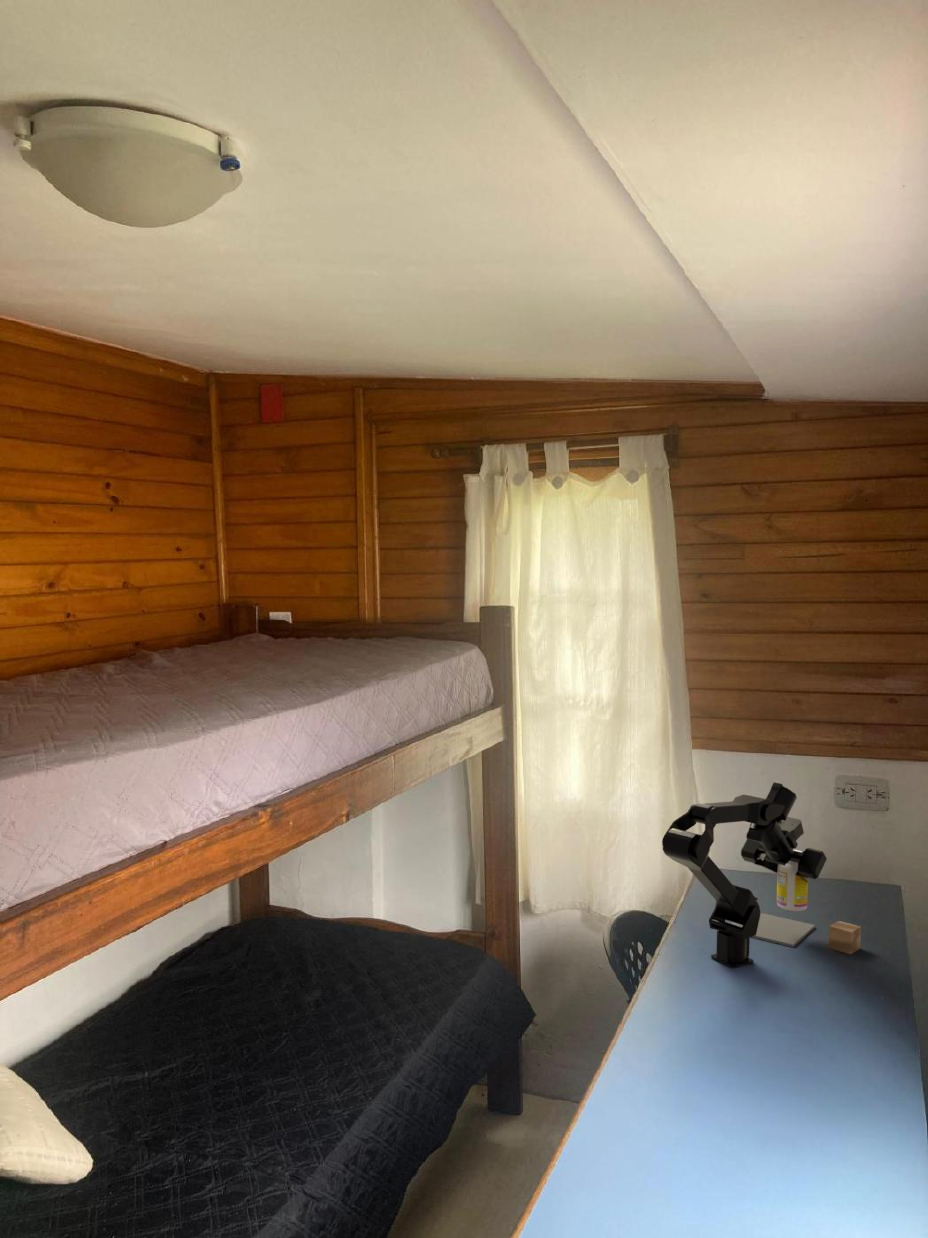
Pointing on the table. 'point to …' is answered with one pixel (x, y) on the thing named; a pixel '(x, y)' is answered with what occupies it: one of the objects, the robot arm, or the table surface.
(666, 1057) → the table surface
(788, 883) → the supplement bottle
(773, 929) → the mat
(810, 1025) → the table surface
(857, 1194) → the table surface
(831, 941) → the light brown cube
